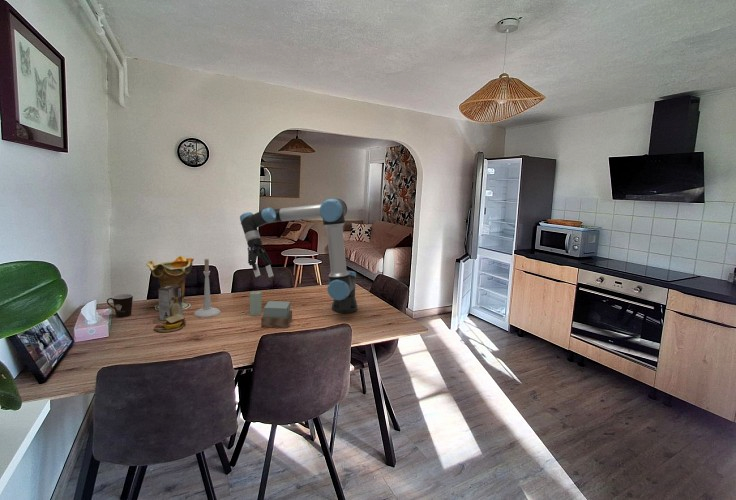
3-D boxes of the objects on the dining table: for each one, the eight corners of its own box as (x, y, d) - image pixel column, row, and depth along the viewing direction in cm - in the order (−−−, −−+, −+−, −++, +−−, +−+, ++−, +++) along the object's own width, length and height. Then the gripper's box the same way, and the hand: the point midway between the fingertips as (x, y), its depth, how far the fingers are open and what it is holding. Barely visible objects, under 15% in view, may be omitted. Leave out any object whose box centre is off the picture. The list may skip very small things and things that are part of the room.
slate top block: (289, 310, 190) (290, 301, 189) (286, 318, 179) (286, 308, 178) (268, 310, 189) (268, 301, 188) (263, 317, 178) (264, 307, 177)
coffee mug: (137, 314, 185) (136, 295, 183) (120, 319, 177) (119, 299, 175) (123, 310, 190) (122, 292, 188) (105, 314, 182) (104, 295, 180)
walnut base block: (291, 319, 191) (292, 310, 191) (287, 328, 179) (288, 319, 178) (267, 318, 191) (267, 309, 190) (261, 327, 178) (261, 318, 177)
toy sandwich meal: (150, 327, 171) (150, 317, 170) (181, 321, 180) (181, 312, 179) (158, 335, 162) (157, 325, 161) (190, 328, 171) (189, 319, 170)
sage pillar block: (261, 312, 198) (261, 291, 196) (259, 315, 193) (259, 294, 191) (252, 312, 198) (252, 291, 196) (249, 315, 193) (249, 293, 191)
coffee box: (172, 313, 189) (171, 284, 186) (183, 315, 187) (182, 285, 185) (158, 319, 180) (157, 288, 177) (170, 321, 179) (169, 289, 176)
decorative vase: (138, 308, 192) (139, 256, 189) (175, 300, 213) (176, 253, 210) (166, 315, 185) (167, 261, 182) (202, 306, 206) (203, 257, 203)
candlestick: (210, 318, 185) (209, 261, 180) (188, 315, 187) (187, 259, 183) (225, 311, 197) (224, 257, 193) (204, 308, 200) (203, 255, 195)
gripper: (260, 244, 210) (270, 279, 207) (234, 240, 186) (245, 278, 183) (271, 240, 209) (281, 274, 205) (246, 234, 185) (258, 273, 181)
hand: (264, 276), depth 194 cm, fingers open, 13 cm apart
